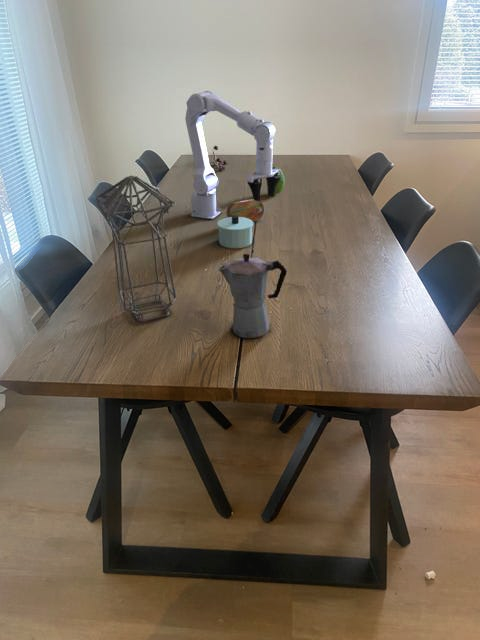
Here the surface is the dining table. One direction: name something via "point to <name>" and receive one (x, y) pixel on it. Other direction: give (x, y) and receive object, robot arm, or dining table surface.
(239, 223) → the pot lid
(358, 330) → the dining table surface
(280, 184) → the avocado
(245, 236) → the pot
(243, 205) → the tin
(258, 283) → the moka pot
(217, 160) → the decorative branch
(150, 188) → the geometric lantern
